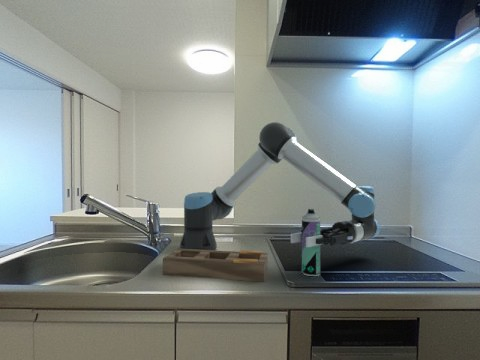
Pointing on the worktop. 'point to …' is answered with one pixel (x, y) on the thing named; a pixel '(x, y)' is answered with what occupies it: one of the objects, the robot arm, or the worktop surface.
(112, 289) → the worktop surface
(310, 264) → the spray can
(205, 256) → the rack
